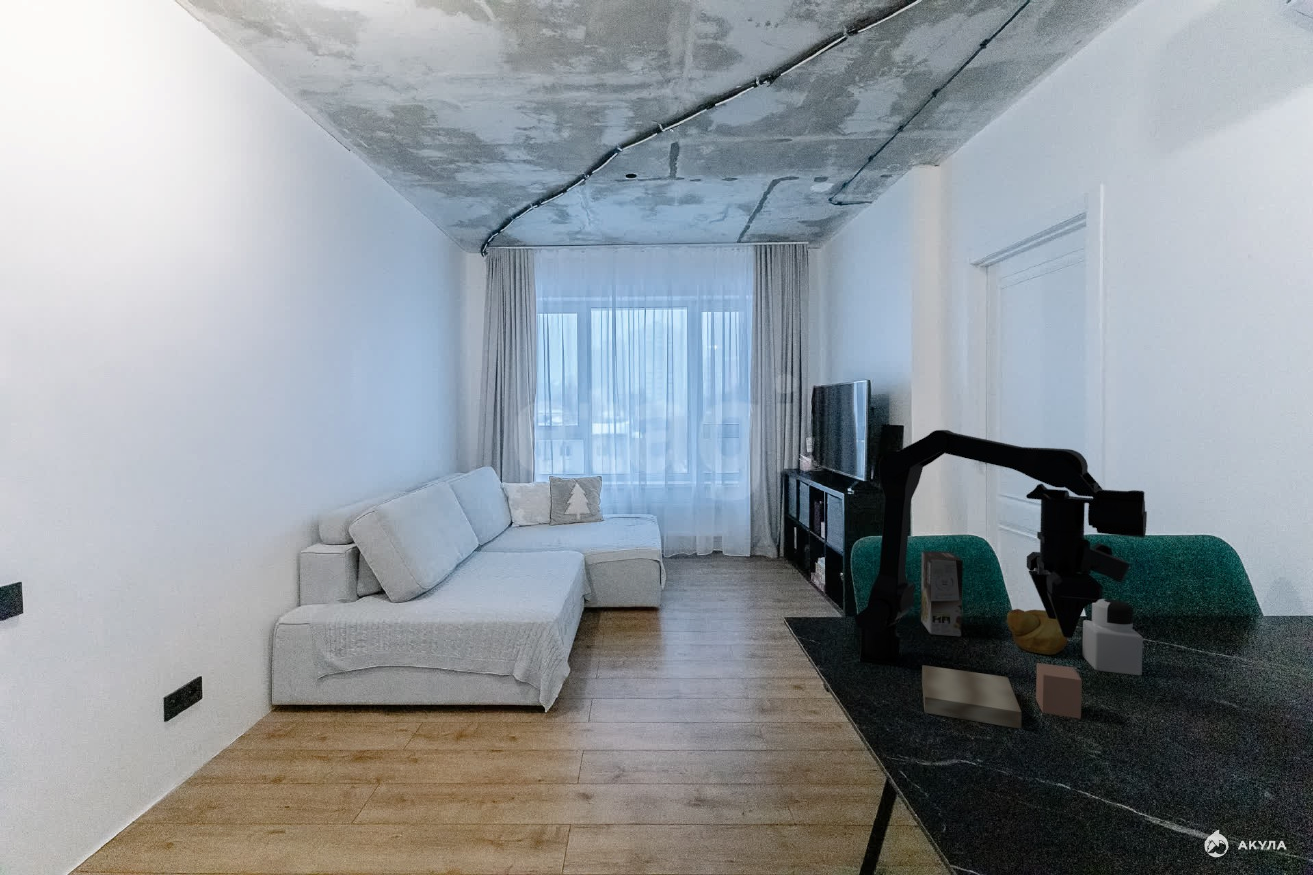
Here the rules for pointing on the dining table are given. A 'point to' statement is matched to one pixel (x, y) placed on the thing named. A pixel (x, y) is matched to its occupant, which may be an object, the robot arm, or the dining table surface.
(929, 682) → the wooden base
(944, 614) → the coffee box
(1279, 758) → the dining table surface
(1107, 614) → the medicine bottle
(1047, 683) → the terracotta block
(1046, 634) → the bread roll
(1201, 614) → the dining table surface
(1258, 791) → the dining table surface
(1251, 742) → the dining table surface
